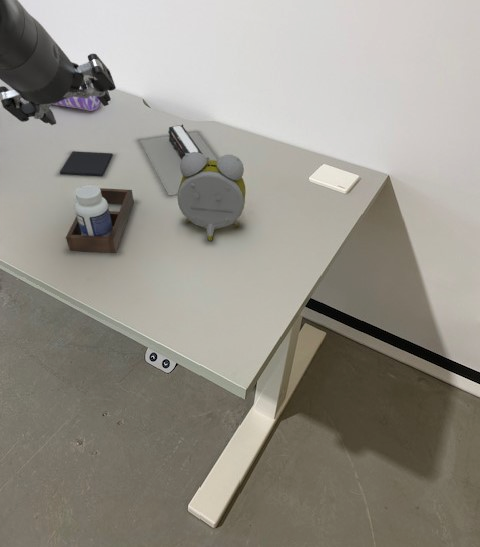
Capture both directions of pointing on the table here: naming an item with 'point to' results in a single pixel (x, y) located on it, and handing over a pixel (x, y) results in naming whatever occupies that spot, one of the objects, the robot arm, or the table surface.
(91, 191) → the pill bottle
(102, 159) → the rubber pad
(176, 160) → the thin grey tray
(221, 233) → the table surface
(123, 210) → the bottle holder
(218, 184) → the alarm clock
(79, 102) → the pencil case
